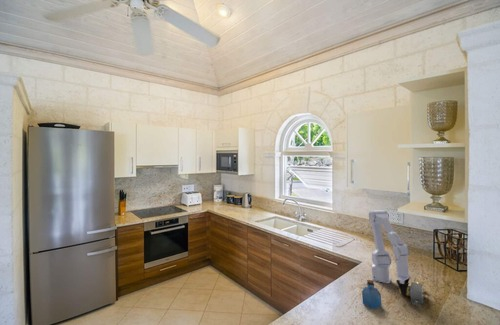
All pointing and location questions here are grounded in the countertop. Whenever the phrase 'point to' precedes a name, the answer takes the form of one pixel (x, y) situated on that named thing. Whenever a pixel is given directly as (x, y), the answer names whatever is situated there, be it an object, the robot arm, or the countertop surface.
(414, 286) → the pillow block
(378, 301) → the perfume bottle
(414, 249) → the countertop surface
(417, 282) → the cover
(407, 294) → the end cover
